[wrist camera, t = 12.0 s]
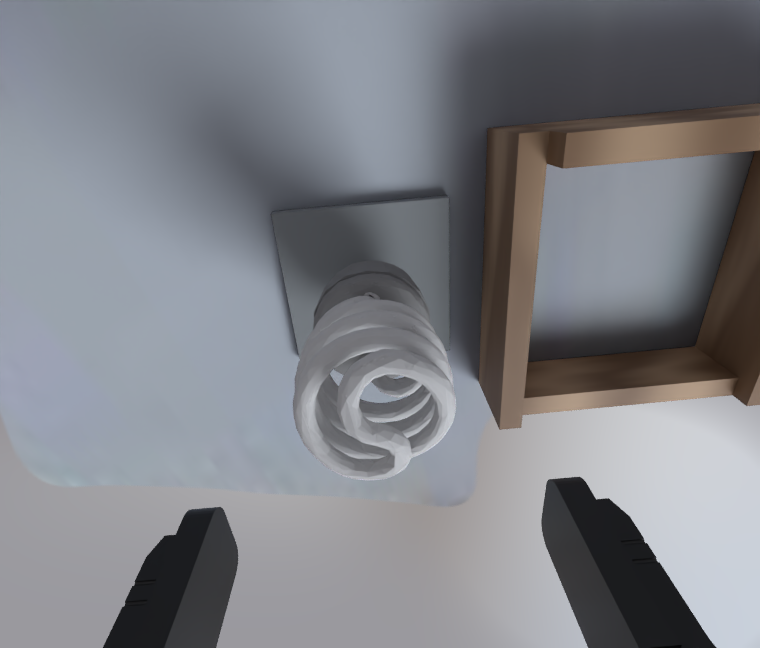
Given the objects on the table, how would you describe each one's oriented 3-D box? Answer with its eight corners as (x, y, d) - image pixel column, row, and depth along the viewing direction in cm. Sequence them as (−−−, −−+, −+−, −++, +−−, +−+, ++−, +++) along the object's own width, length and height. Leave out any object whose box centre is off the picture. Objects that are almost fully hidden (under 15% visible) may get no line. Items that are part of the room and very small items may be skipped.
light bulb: (428, 322, 24) (477, 492, 14) (334, 341, 25) (310, 519, 14) (413, 228, 22) (459, 346, 11) (307, 249, 22) (254, 384, 12)
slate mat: (446, 195, 22) (449, 197, 21) (447, 345, 26) (449, 350, 25) (272, 211, 22) (270, 214, 21) (301, 359, 26) (300, 364, 25)
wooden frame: (794, 100, 21) (947, 98, 15) (708, 360, 27) (792, 421, 22) (487, 128, 20) (533, 136, 15) (478, 382, 27) (508, 449, 22)
